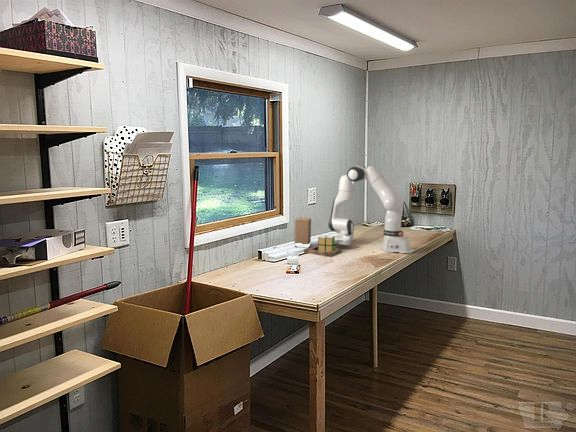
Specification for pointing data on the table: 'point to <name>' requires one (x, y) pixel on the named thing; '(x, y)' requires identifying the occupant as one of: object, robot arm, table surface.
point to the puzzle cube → (326, 243)
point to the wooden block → (303, 230)
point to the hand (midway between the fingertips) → (331, 242)
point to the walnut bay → (313, 251)
